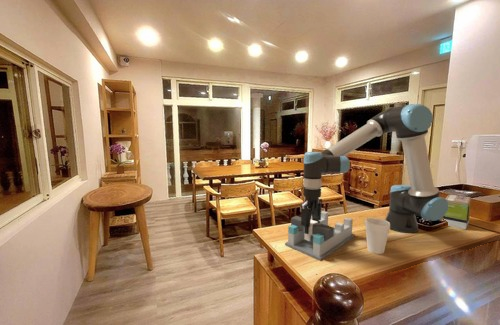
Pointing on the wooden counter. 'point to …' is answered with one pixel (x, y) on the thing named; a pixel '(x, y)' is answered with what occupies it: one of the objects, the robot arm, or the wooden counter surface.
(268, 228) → the wooden counter surface
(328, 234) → the grey banded pillar
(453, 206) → the tea box
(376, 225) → the foam cup
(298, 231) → the grey peg rack
